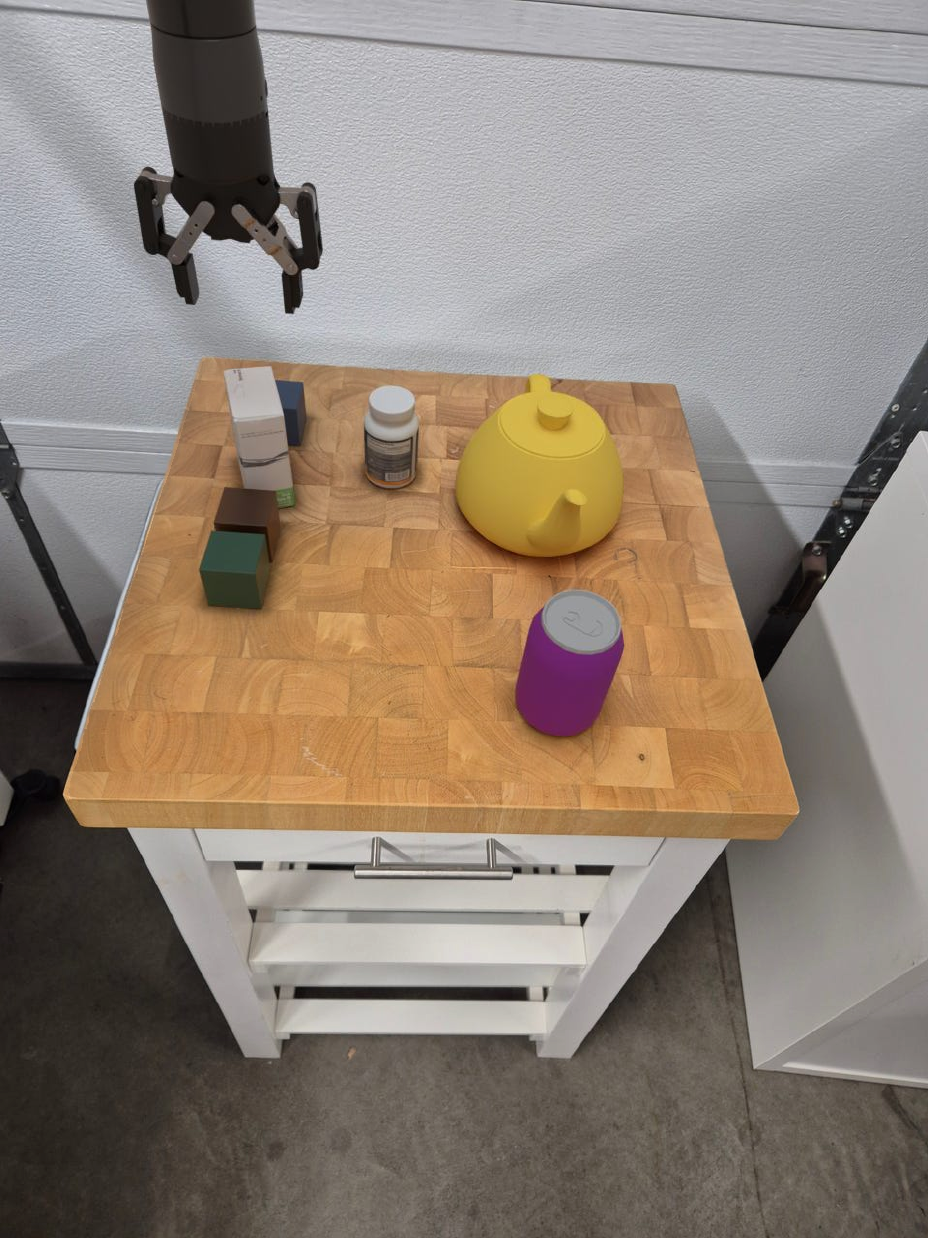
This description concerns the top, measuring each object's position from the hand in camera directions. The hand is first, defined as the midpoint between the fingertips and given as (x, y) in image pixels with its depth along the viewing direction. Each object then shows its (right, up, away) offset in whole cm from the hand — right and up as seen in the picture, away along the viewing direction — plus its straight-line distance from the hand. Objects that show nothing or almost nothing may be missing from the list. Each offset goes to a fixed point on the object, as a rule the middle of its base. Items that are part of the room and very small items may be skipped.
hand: (242, 304), depth 71 cm
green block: (-2, -25, +6) cm, 25 cm away
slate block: (-1, -6, +22) cm, 22 cm away
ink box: (-2, -13, +16) cm, 21 cm away
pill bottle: (+11, -12, +19) cm, 25 cm away
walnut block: (-2, -20, +10) cm, 22 cm away
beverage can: (+28, -35, +1) cm, 45 cm away
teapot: (+27, -17, +16) cm, 36 cm away
